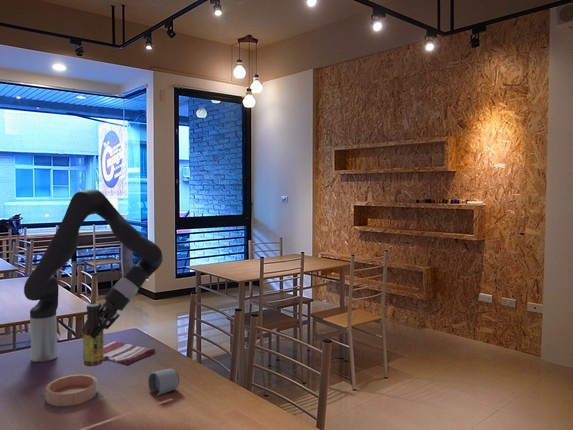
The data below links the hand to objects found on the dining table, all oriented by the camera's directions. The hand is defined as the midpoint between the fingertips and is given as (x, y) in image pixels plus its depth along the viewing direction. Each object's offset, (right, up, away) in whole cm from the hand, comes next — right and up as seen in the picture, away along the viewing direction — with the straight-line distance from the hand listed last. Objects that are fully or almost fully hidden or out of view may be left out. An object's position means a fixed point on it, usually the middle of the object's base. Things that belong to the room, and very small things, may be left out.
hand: (87, 334), depth 157 cm
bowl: (-4, -19, -2) cm, 20 cm away
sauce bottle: (+1, -10, +2) cm, 11 cm away
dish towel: (-3, -18, +37) cm, 41 cm away
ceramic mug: (+23, -20, +3) cm, 31 cm away
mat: (-4, -20, -2) cm, 21 cm away
